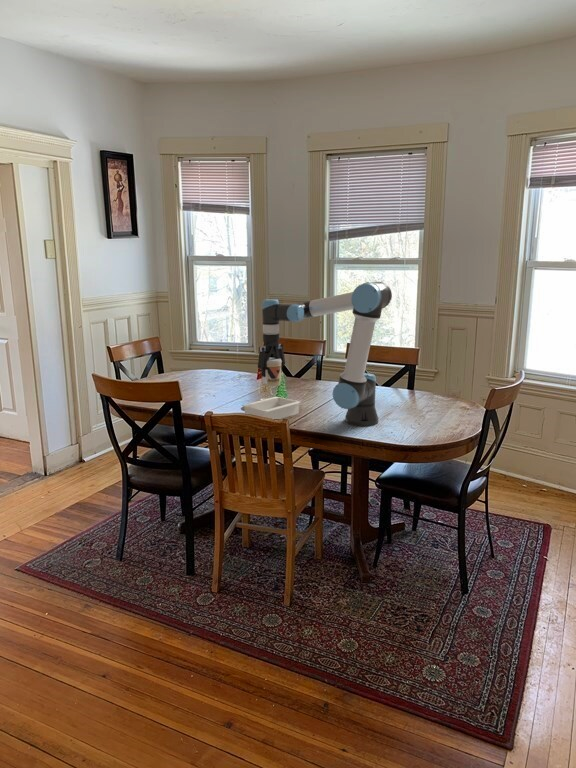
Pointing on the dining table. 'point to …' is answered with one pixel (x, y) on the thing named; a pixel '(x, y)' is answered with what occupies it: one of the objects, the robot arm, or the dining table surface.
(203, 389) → the dining table surface
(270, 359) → the coffee cup
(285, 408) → the white rectangular tray
